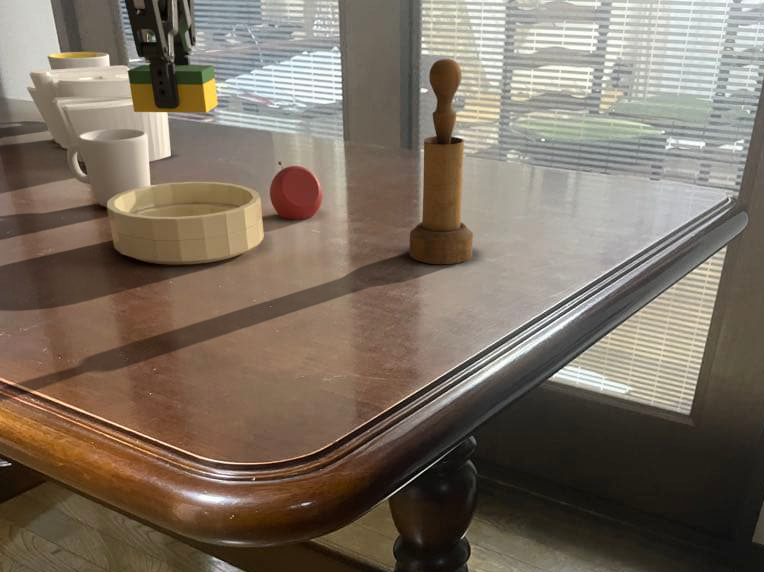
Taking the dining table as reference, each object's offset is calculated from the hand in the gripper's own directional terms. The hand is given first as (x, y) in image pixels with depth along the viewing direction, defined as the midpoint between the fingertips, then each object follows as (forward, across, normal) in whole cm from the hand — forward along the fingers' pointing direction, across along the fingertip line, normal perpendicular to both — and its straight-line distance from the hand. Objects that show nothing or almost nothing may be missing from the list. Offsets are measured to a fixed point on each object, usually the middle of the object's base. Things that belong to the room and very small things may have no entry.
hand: (175, 102), depth 84 cm
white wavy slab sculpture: (+14, -51, -28) cm, 60 cm away
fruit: (+14, -16, +8) cm, 23 cm away
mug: (+14, -78, -41) cm, 90 cm away
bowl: (+14, -2, -1) cm, 14 cm away
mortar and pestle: (+14, 0, +26) cm, 30 cm away
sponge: (+1, 0, 0) cm, 1 cm away
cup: (+14, -19, -15) cm, 28 cm away
